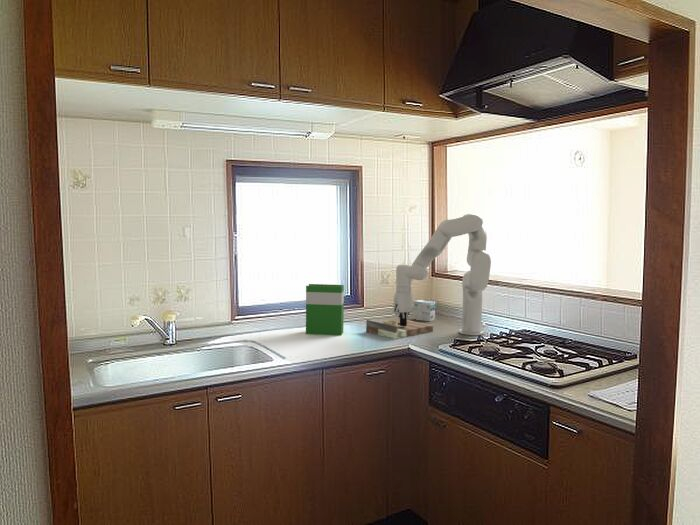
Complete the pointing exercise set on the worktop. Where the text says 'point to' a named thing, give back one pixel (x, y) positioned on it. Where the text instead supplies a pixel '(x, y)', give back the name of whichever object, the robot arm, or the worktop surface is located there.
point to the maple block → (391, 322)
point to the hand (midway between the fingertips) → (403, 325)
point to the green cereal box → (324, 309)
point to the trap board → (395, 333)
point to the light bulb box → (424, 310)
